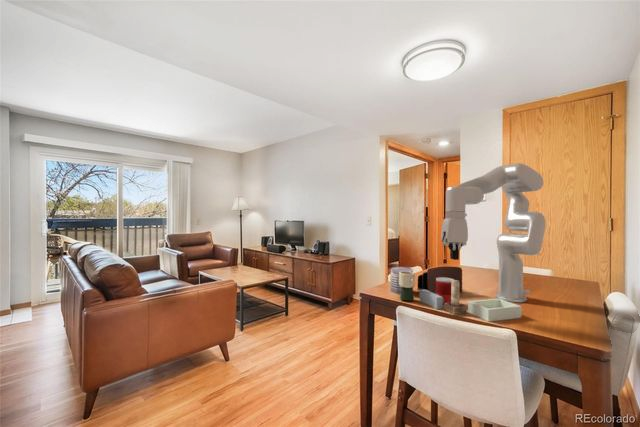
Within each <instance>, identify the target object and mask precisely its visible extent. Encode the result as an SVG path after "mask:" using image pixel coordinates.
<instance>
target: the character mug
mask: <svg viewBox="0 0 640 427" xmlns="http://www.w3.org/2000/svg"><path fill="white" fill-rule="evenodd" d="M415 280H416V273H415V272H414V271H413V272H409V271H401V272H399V285H400V286H402V288H401V294H399V298H400V300H401V301H408V302H410V301H413V302H414V300H415V296H414V287H416V283H415ZM412 287H413V289H412Z"/></svg>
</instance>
